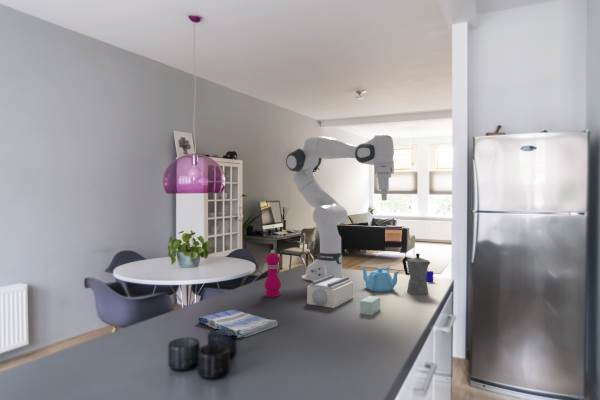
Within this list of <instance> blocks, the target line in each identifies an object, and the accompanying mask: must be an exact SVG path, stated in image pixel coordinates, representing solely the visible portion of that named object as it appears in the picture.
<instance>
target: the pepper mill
mask: <svg viewBox="0 0 600 400" xmlns="http://www.w3.org/2000/svg"><path fill="white" fill-rule="evenodd" d="M265 262H266V263H267V265H266V268H267V277H266V279H265V281H264V288H265V296H266V297H268V298H276V297H280V296H281V291H280V289H281V287H282V283H281V280H280V278H279V276H278V269H279V262H280V256H279V254H277V253H276V252H275V250H274V249H272V250H270V253H268V254H267V255H266V257H265Z"/></svg>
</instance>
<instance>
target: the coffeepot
mask: <svg viewBox="0 0 600 400" xmlns="http://www.w3.org/2000/svg"><path fill="white" fill-rule="evenodd" d="M401 261H402V262H401V263H402V265H403V270H404V274H405V275H406V276H409V280H408V284H407V290H406V292H407V293H408V294H410V295H415V296H427V295H428V294H429V288H428V282H427V281H426V275H427V271H428V270H429V269H428V268H429V265H430V264H431V262H430V261H429V260H427V259H425V258H421V257H420V253H418V252H417V253H416V254H415V257H410V256H409V257H408V256H404V258H403V259H402V260H401Z"/></svg>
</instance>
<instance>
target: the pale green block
mask: <svg viewBox="0 0 600 400" xmlns="http://www.w3.org/2000/svg"><path fill="white" fill-rule="evenodd" d="M380 310H381V297H380V296H373V295H368V296H366V297H364V298H362V299H360V301H359V313H360V315H367V316H373V315H374V314H376V313H377V312H379V311H380Z"/></svg>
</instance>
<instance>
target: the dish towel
mask: <svg viewBox="0 0 600 400" xmlns="http://www.w3.org/2000/svg"><path fill="white" fill-rule="evenodd" d="M198 322H199V324H201V325H204V326H207V325H208V326H207V327H210V328H212V329H214V330H216V329H230V330H233V331H234V332H235V333H236V336H237V337H236V338H238V339H239V338H242V337H244V338H247V337H250V336H253V335H257V334H259V333H261V332H264V331H267V330H270V329H274V328H275V327H277V326H278V321H277V320H276V319H268V318H264V317H262V316H258V315H254V314H251V313H248V312H243V311H241V310H240V311H239V310H238V309H229V310H224V311H220V312H216V313H213V314H209V315H203V316H200V317H198Z"/></svg>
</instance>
